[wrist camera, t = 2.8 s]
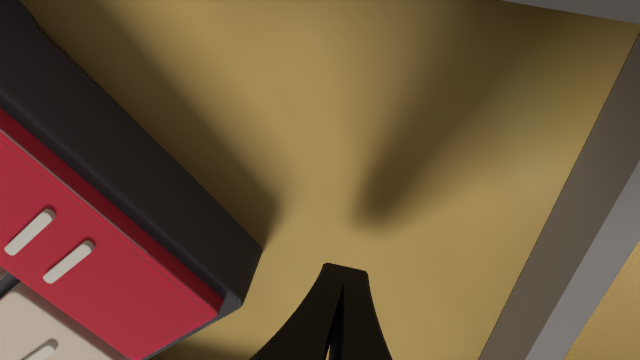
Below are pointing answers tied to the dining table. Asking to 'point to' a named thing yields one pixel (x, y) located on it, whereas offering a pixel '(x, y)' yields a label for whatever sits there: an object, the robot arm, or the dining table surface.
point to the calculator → (99, 220)
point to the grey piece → (581, 219)
